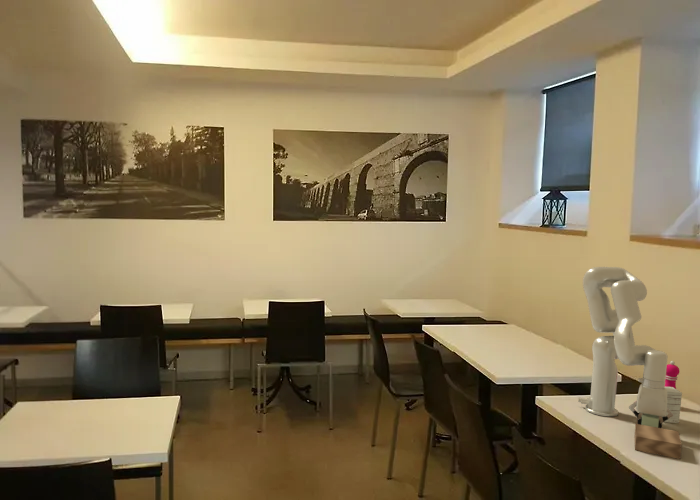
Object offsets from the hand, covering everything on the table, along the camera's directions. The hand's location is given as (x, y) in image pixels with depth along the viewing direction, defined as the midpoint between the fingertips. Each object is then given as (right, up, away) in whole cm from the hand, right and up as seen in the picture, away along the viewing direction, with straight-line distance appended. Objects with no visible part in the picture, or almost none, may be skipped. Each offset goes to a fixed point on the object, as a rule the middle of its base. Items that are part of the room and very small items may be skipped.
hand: (648, 430), depth 230 cm
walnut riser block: (-4, -2, -13) cm, 14 cm away
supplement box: (+15, -1, +17) cm, 23 cm away
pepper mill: (+25, 0, +35) cm, 43 cm away
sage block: (0, -1, 0) cm, 1 cm away
